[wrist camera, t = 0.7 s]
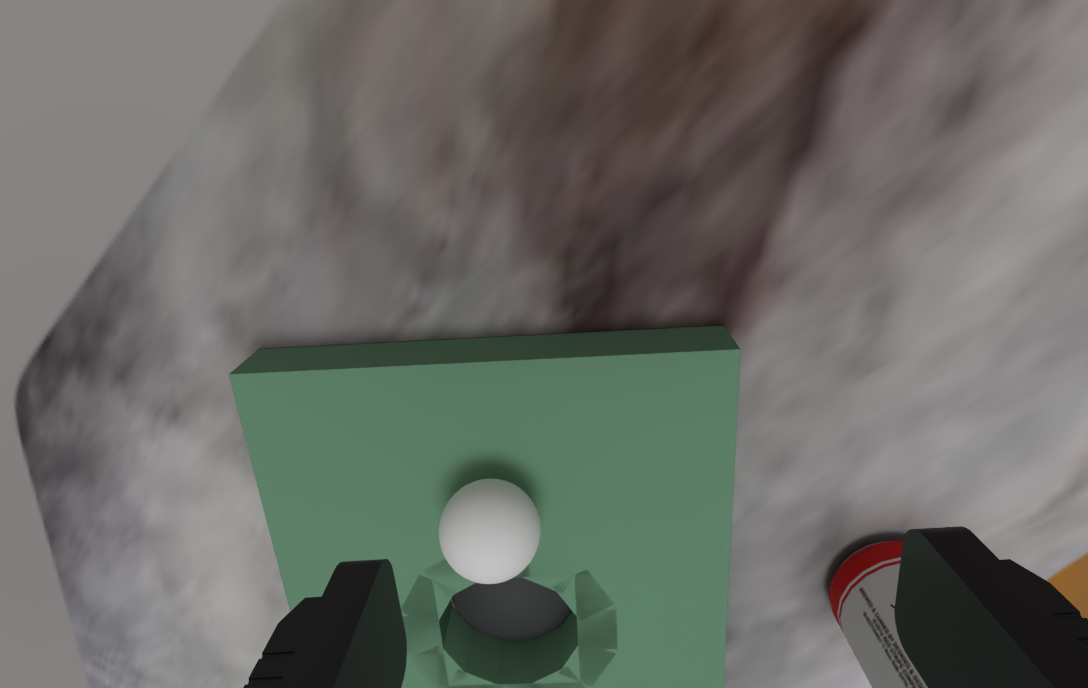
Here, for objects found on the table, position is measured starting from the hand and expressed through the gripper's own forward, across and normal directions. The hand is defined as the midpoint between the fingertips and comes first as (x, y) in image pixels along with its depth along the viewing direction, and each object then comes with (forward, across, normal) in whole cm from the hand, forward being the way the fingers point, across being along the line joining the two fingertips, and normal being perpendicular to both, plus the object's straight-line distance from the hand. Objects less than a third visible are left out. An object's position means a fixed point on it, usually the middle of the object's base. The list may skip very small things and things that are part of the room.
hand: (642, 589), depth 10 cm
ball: (+15, +5, +10) cm, 19 cm away
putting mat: (+20, +5, +13) cm, 25 cm away
